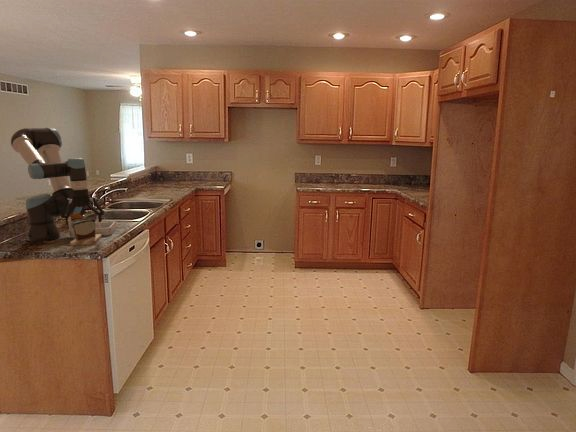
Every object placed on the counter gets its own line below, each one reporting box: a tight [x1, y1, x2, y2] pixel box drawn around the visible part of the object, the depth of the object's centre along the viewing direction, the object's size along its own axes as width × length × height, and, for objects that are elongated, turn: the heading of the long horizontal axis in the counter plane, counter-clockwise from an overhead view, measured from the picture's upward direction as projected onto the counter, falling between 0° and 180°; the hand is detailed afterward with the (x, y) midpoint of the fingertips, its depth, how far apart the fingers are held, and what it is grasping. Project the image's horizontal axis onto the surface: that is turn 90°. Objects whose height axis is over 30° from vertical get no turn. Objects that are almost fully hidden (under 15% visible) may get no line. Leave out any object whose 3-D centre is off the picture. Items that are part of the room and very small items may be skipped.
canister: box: [69, 207, 86, 223], centre depth 256 cm, size 9×11×20 cm
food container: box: [71, 217, 97, 241], centre depth 208 cm, size 12×6×10 cm, turn 144°
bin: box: [68, 221, 117, 239], centre depth 226 cm, size 21×17×4 cm
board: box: [69, 233, 103, 247], centre depth 210 cm, size 12×15×2 cm
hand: (85, 229), depth 209 cm, fingers open, 13 cm apart
